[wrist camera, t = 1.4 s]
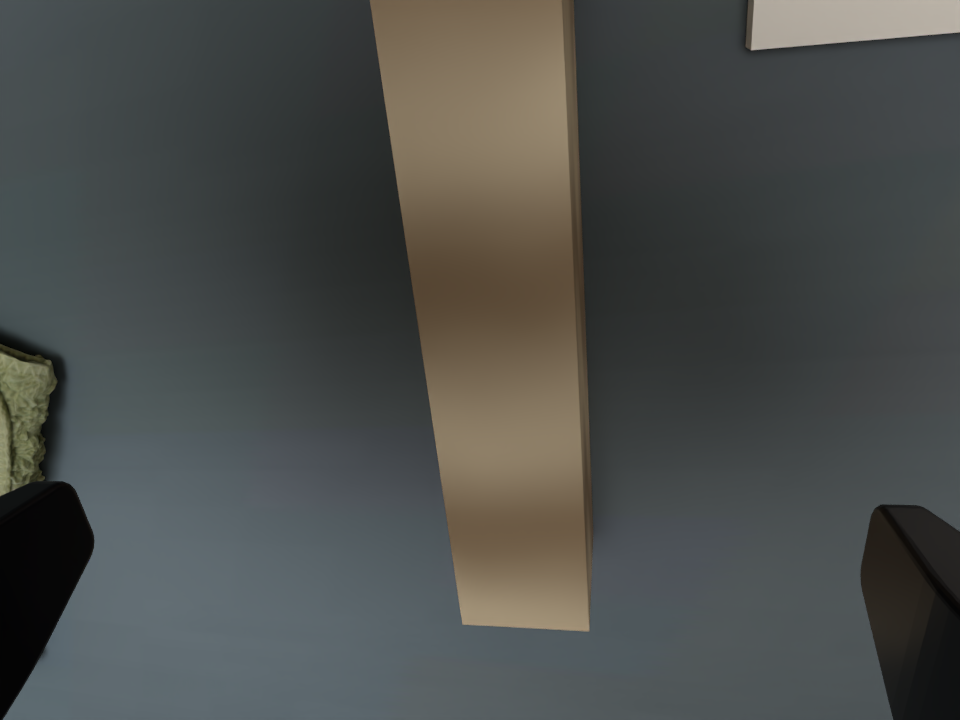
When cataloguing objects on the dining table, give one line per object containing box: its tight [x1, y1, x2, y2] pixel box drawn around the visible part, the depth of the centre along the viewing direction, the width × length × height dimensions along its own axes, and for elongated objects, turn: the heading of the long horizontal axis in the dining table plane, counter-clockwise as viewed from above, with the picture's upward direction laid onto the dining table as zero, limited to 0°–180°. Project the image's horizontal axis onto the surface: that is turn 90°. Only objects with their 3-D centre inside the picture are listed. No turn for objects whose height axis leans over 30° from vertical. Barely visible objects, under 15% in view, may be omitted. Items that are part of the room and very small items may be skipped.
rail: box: [370, 0, 593, 631], centre depth 17 cm, size 20×4×5 cm, turn 6°
